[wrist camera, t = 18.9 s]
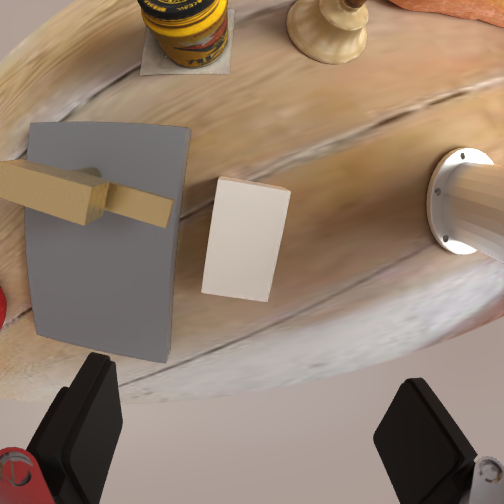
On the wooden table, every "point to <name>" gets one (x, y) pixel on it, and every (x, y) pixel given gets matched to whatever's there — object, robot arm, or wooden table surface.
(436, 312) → the wooden table surface
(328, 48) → the hand bell
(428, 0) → the bread
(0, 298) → the apple
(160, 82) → the wooden table surface
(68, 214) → the key
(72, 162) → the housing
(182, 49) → the condiment
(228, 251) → the white rectangular block
